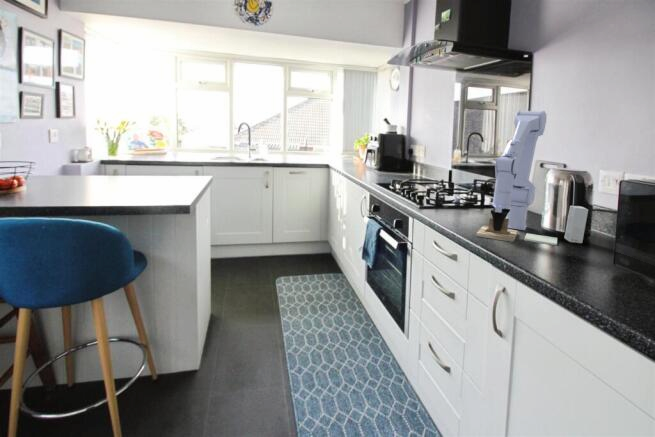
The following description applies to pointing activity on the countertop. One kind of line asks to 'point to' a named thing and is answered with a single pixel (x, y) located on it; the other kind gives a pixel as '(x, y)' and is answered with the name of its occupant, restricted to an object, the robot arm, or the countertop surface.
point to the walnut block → (503, 229)
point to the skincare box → (576, 224)
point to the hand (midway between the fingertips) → (497, 229)
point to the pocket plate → (509, 237)
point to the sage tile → (541, 239)
